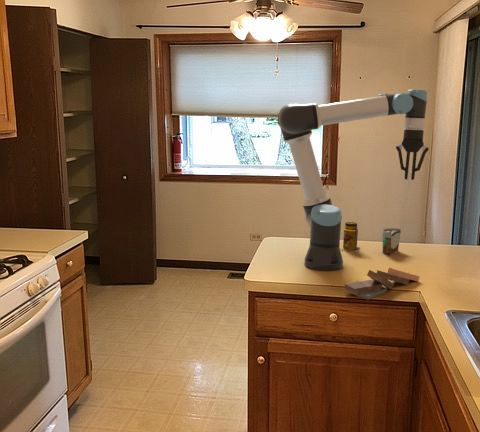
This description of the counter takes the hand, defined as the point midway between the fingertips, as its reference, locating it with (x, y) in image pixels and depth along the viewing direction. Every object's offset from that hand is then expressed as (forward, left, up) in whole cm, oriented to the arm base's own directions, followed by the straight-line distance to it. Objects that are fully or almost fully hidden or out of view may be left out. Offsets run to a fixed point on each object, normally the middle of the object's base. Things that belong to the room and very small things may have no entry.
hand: (408, 187), depth 218 cm
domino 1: (-9, -46, -28) cm, 54 cm away
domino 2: (-6, -41, -29) cm, 51 cm away
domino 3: (-8, -44, -30) cm, 54 cm away
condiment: (-22, +8, -30) cm, 38 cm away
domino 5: (+4, -29, -29) cm, 41 cm away
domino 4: (0, -34, -29) cm, 45 cm away
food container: (-6, +8, -30) cm, 32 cm away
